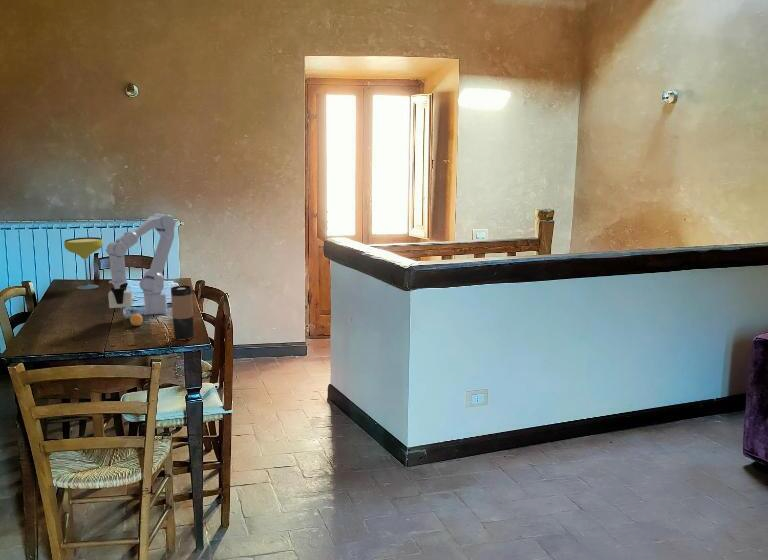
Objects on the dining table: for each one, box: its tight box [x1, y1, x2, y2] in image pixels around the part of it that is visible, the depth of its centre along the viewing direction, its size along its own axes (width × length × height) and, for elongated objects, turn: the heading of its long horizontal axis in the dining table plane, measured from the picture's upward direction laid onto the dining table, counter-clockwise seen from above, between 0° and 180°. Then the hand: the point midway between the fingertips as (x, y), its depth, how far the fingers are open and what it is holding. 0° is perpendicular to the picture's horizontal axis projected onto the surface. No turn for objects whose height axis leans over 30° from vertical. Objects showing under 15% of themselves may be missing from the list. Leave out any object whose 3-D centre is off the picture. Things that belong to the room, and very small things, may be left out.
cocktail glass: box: [63, 236, 103, 291], centre depth 361 cm, size 18×18×25 cm
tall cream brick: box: [107, 289, 133, 309], centre depth 297 cm, size 9×6×6 cm
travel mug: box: [170, 285, 195, 340], centre depth 269 cm, size 8×8×20 cm
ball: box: [129, 313, 144, 326], centre depth 289 cm, size 5×5×5 cm
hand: (120, 302), depth 297 cm, fingers closed on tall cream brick, 6 cm apart
